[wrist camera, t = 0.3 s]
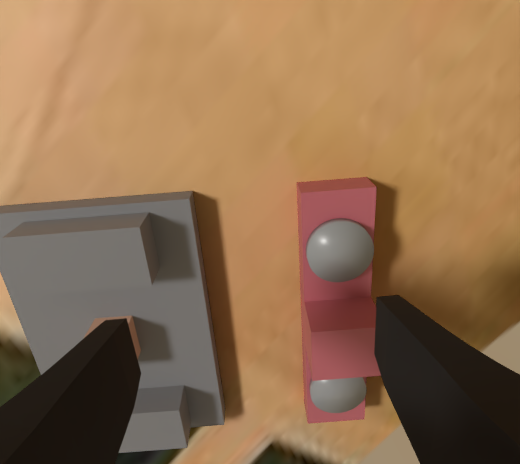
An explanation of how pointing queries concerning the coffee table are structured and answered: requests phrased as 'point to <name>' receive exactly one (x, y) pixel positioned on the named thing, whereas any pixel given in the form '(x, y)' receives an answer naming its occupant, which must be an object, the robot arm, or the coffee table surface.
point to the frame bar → (337, 296)
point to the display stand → (121, 299)
